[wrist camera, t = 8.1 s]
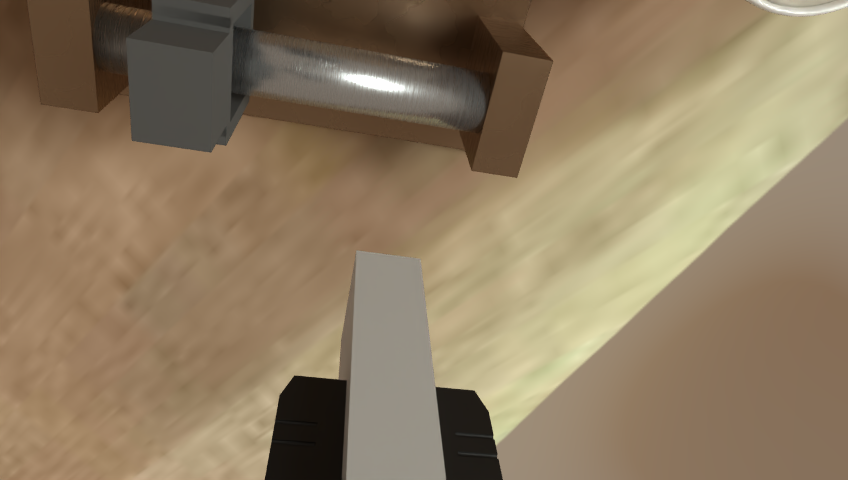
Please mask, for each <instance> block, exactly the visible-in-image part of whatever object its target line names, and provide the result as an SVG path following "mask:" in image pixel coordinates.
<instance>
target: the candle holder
mask: <svg viewBox="0 0 848 480" xmlns="http://www.w3.org/2000/svg"><path fill="white" fill-rule="evenodd" d="M746 1H747V2H749V3H750V4H752V5H754V6H756V7H758V8H760V9H762V10H765V11H767V12H771V13H774V14H778V15H784V16H795V17H804V16H815V15H821V14H826V13H830V12H834V11H837V10H841V9H843V8H846V7H848V0H746Z"/></svg>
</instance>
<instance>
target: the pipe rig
mask: <svg viewBox="0 0 848 480" xmlns="http://www.w3.org/2000/svg"><path fill="white" fill-rule="evenodd" d="M530 2H531V0H254V18H253V29H248V28H243V27H237V26H233V55H232V84H231V93H236V94H242V95H249V96H250V98H249V103H248V105H247V106H246V108H245V110H244V112H243V114H246V115H252V116H258V117H264V118H271V119H277V120H283V121H289V122H296V123H302V124H308V125H314V126H321V127H327V128H333V129H339V130H346V131H352V132H358V133H364V134H371V135H377V136H383V137H389V138H396V139H402V140H408V141H414V142H420V143H427V144H433V145H439V146H445V147H452V148H458V149H464V150H465V152H466V155H467V158H468V161H469V164H470V167H471V170H472V171H476V172H483V173H489V174H496V175H502V176H509V177H515V178H517V176H518V173H519V170H520V167H521V164H522V160H523V157H524V154H525V151H526V147H527V144H528V141H529V138H530V135H531V131H532V128H533V125H534V122H535V118H536V115H537V112H538V109H539V106H540V102H541V99H542V96H543V93H544V89H545V86H546V83H547V80H548V77H549V73H550V70H551V67H552V64H553V60H552V59H551V58H550V57H549V56H548V55H547V54H546V53H545V52H544V50H543V49H542V48H541V47H540V46H539V45H538V44H537V43H536V42H535V41H534V39H533V38H532V37H531V36H530V35H529V34H528V33H527V32H526V31H525V30H524V28H523V27H524V24H525V20H526V16H527V13H528V9H529V6H530ZM27 6H28V13H29V20H30V28H31V35H32V42H33V50H34V57H35V64H36V72H37V79H38V87H39V94H40V101H41V104H43V105H49V106H56V107H62V108H69V109H75V110H82V111H88V112H95V113H99V112H100V111H101V110H102V109H103V108H104V107H105V106H106V105H108V104H109V103H110V102H111V101H112V100H113V99H114V98H115V97H116V96H117V95H119V94H121V95H127V96H129V81H128V63H127V46H126V37H128V36H129V35H131V34H132V33H133V32H135V31H136V30H138V29H139V28H141V27H142V26H143V25H145V24H146V23H148V22H149V21H150V20H152V0H27Z"/></svg>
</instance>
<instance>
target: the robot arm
mask: <svg viewBox="0 0 848 480" xmlns="http://www.w3.org/2000/svg"><path fill="white" fill-rule="evenodd" d="M265 480H503V479H502V474H501V469H500V465H499V460H498V459H497V450H496V445H495V440H493V430H492V426H491V421H490V416H489V412H488V410H487V409H486V407H485V406H484V404H483V403H482V401H481V400H480V398H479V397H478V395H477V394H476V392H475V391H473V390H462V389H451V388H440V387H435V380H434V371H433V362H432V354H431V345H430V337H429V328H428V320H427V311H426V302H425V294H424V285H423V277H422V268H421V259H419V258H411V257H403V256H395V255H387V254H380V253H372V252H364V251H356V256H355V262H354V268H353V274H352V280H351V286H350V292H349V297H348V303H347V309H346V315H345V321H344V327H343V333H342V339H341V352H340V366H339V380H337V379H326V378H316V377H305V376H294V377H293V378H292V380H291V381H290V382H289V384H288V385H287V386H286V388H285V389H284V390H283V392H282V393H281V394H280V397H279V402H278V408H277V414H276V419H275V425H274V431H273V436H272V443H271V448H270V453H269V459H268V465H267V470H266V476H265Z"/></svg>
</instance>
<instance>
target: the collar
mask: <svg viewBox="0 0 848 480" xmlns="http://www.w3.org/2000/svg"><path fill="white" fill-rule="evenodd" d="M253 18H254V0H152V20H150V21H149V22H148V23H146V24H145V25H143V26H142V27H141V28H139V29H138V30H136V31H135V32H133V33H132V34H131V35H129V36H128V37H126V46H127V63H128V81H129V99H130V117H131V134H132V141H137V142H144V143H150V144H157V145H164V146H171V147H177V148H184V149H191V150H198V151H204V152H212V150H213V148H214V147H215V145H216V144H219V145H225V146H226V145H227V143H228V141H229V139H230V137H231V135H232V133H233V131H234V129H235V128H236V126H237V124H238V122H239V120H240V118H241V116H242V114H243V112H244V110H245V108H246V106H247V105H248V103H249V98H250V96H249V95H242V94H236V93H231V84H232V55H233V26H237V27H243V28H248V29H253Z"/></svg>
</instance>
